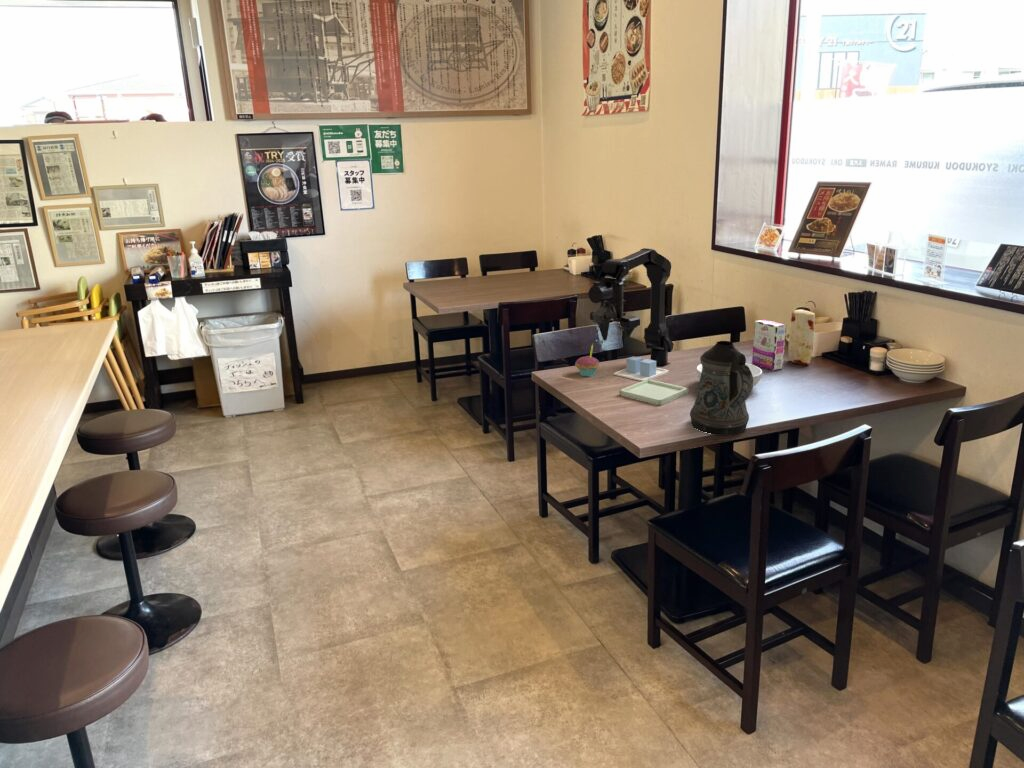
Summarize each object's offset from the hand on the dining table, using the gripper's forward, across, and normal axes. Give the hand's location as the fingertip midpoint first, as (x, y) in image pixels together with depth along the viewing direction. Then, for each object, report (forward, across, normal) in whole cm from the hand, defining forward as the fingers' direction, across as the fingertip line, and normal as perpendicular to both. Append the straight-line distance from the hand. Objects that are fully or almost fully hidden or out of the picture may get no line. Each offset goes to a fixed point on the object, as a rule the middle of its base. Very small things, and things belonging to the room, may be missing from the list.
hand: (614, 342), depth 256 cm
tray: (+14, +18, 0) cm, 23 cm away
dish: (+14, 0, +13) cm, 19 cm away
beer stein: (+14, +51, -7) cm, 54 cm away
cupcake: (+14, -12, -2) cm, 19 cm away
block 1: (+14, -2, +12) cm, 19 cm away
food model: (+15, +30, +65) cm, 73 cm away
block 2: (+14, +4, +13) cm, 19 cm away
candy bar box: (+15, +25, +53) cm, 60 cm away
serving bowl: (+15, +30, +22) cm, 41 cm away
